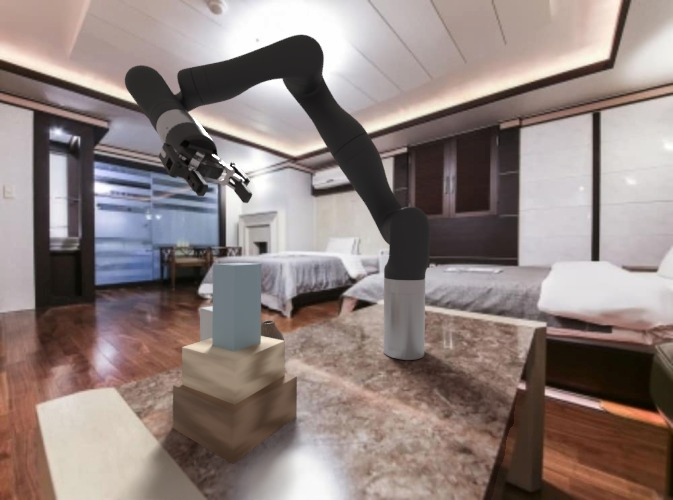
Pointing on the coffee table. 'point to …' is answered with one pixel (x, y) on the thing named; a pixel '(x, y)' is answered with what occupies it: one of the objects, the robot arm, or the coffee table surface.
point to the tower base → (234, 417)
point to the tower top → (232, 368)
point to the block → (236, 305)
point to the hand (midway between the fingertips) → (228, 195)
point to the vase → (270, 330)
